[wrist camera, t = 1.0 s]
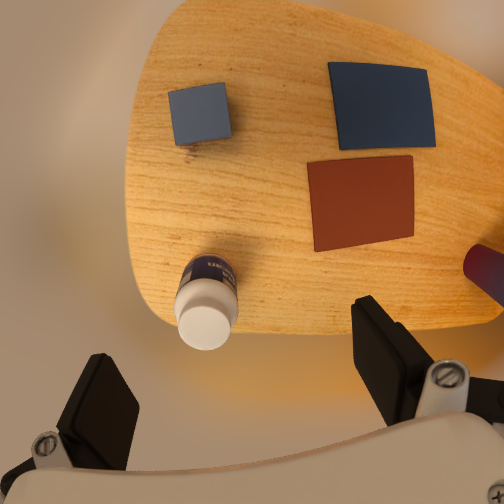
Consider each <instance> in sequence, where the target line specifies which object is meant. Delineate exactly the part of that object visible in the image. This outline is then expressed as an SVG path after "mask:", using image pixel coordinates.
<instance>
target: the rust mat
mask: <svg viewBox="0 0 504 504" xmlns="http://www.w3.org/2000/svg"><path fill="white" fill-rule="evenodd" d="M307 171H308V180H309V190H310V201H311V212H312V224H313V237H314V251H315V252H321V251H327V250H333V249H340V248H346V247H352V246H358V245H364V244H370V243H375V242H381V241H387V240H393V239H399V238H405V237H411V236H414V170H413V156H394V157H374V158H358V159H345V160H332V161H321V162H311V163H307Z"/></svg>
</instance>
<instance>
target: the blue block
mask: <svg viewBox="0 0 504 504" xmlns="http://www.w3.org/2000/svg"><path fill="white" fill-rule="evenodd" d="M168 96H169V103H170V110H171V118H172V125H173V131H174V138H175V145H177V146H185V145H191V144H196V143H202V142H208V141H214V140H220V139H227V138H231V137H232V130H231V123H230V116H229V109H228V102H227V95H226V88H225V83H224V82H222V83H216V84H209V85H203V86H197V87H192V88H186V89H181V90H176V91H171V92H168Z"/></svg>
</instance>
